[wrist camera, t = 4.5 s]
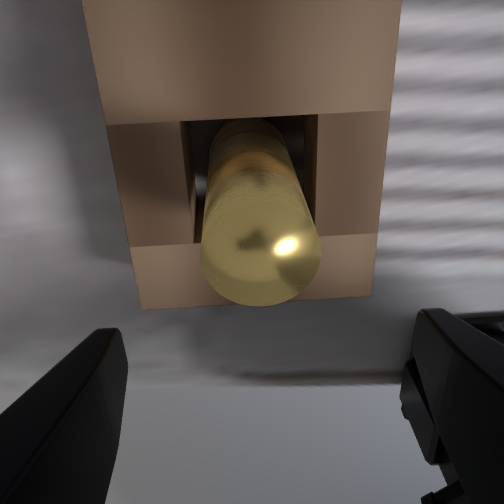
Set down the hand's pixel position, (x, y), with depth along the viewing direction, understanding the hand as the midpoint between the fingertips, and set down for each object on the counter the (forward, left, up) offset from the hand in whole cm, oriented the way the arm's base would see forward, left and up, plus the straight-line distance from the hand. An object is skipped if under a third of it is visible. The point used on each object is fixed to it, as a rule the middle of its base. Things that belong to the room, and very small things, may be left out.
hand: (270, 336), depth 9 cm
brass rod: (0, 0, -11) cm, 11 cm away
